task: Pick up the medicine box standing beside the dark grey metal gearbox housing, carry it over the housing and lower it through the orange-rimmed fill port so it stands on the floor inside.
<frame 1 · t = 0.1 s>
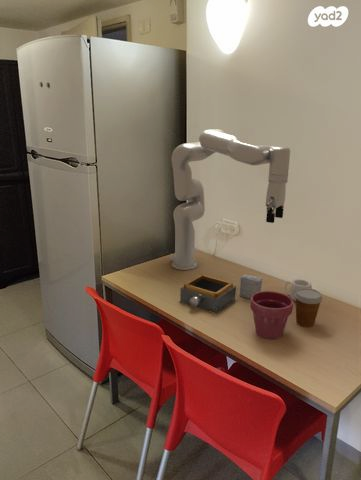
hand: (274, 219, 163), 31 cm above the table, tool pointing down, fingers open, 9 cm apart
plant pot: (268, 332, 138), on the table
gearbox housing: (208, 300, 160), on the table
disposable coffee cup: (305, 323, 144), on the table
mug: (295, 298, 163), on the table
medicine box: (250, 296, 165), on the table
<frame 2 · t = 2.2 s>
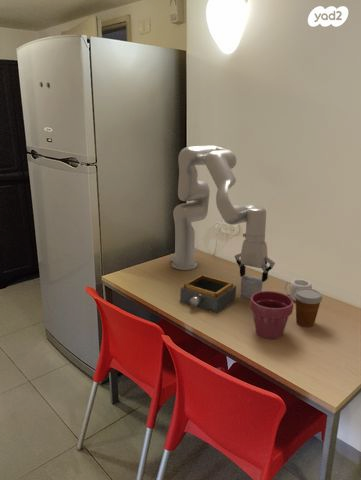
hand: (253, 278, 161), 8 cm above the table, tool pointing down, fingers open, 9 cm apart
medicine box: (250, 297, 164), on the table, touching gripper
everything else where it was.
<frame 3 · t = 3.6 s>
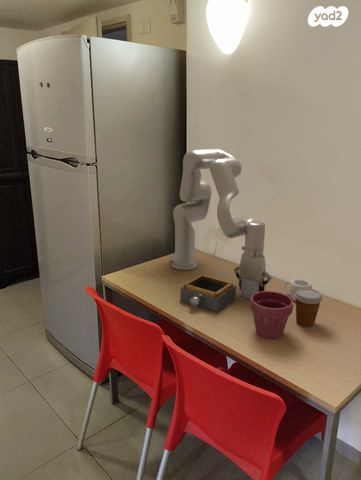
hand: (251, 291, 163), 3 cm above the table, tool pointing down, fingers closed on medicine box, 8 cm apart
medicine box: (250, 297, 164), on the table, touching gripper
everything else where it was.
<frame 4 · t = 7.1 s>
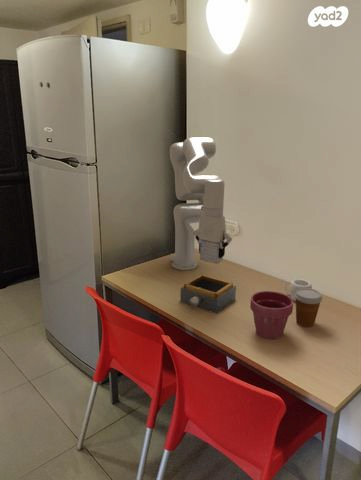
hand: (211, 254, 155), 20 cm above the table, tool pointing down, fingers closed on medicine box, 8 cm apart
medicine box: (211, 261, 155), point 17 cm above the table, touching gripper
everything else where it was.
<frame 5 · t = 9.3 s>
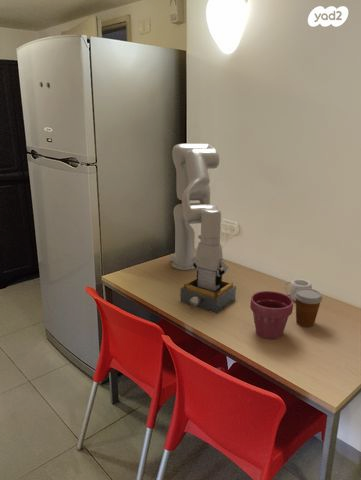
hand: (208, 281, 158), 8 cm above the table, tool pointing down, fingers closed on medicine box, 8 cm apart
medicine box: (208, 288, 158), point 6 cm above the table, touching gripper
everything else where it was.
when the fingers open (5 cm above the table, at t = 10.7 s): medicine box drops 2 cm, resting on gearbox housing.
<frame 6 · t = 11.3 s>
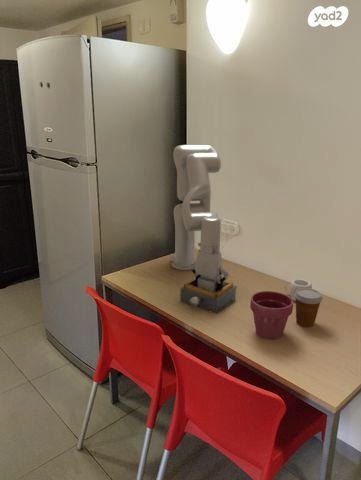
hand: (208, 288, 159), 6 cm above the table, tool pointing down, fingers open, 9 cm apart
medicine box: (208, 298, 160), point 1 cm above the table, touching gearbox housing
everything else where it was.
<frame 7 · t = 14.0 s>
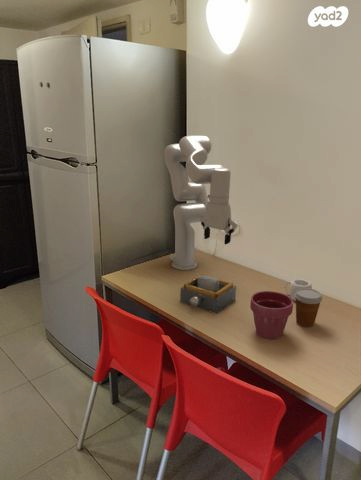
hand: (216, 240, 160), 23 cm above the table, tool pointing down, fingers open, 9 cm apart
nothing on the table moved.
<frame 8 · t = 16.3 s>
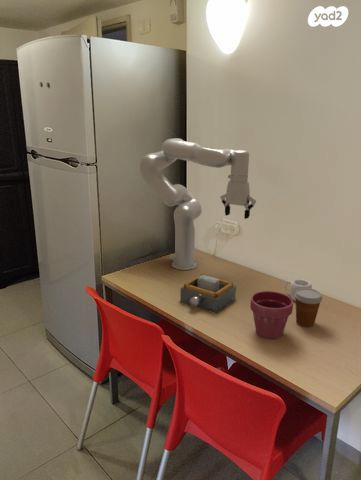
hand: (236, 216, 178), 28 cm above the table, tool pointing down, fingers open, 9 cm apart
nothing on the table moved.
at the end: medicine box inside the target area on the gearbox housing (0.1 cm from its centre), point 0.8 cm above the gearbox housing's base; medicine box tilted 0°; the gripper is holding nothing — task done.
